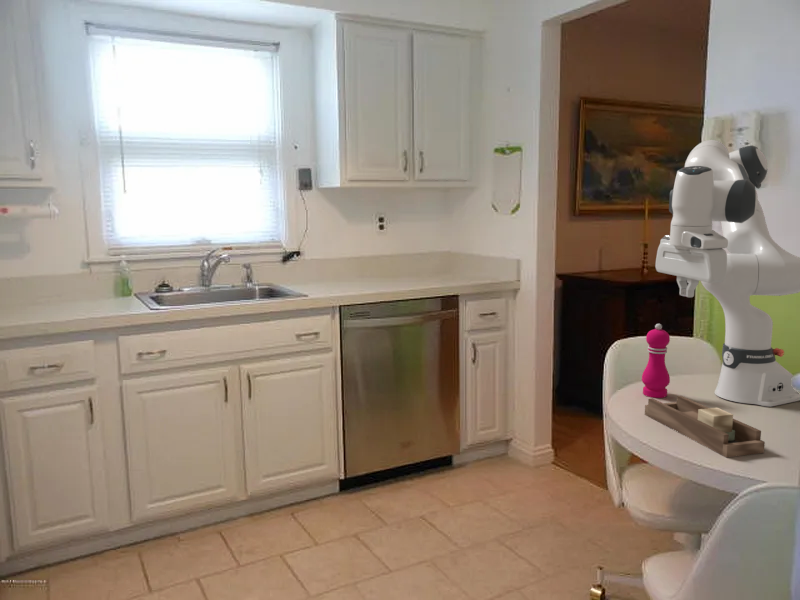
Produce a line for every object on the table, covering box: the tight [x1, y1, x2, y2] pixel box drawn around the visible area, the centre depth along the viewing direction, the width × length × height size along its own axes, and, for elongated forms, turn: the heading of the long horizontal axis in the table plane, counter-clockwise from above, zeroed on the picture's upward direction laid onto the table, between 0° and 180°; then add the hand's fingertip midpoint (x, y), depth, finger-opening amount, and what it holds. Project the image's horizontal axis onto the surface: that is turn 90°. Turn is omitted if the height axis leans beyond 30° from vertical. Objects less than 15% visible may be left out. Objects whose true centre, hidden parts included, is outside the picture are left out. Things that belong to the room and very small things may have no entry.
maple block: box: [698, 407, 734, 433], centre depth 146 cm, size 5×5×4 cm
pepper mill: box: [641, 323, 671, 399], centre depth 179 cm, size 7×7×20 cm
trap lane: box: [644, 395, 766, 458], centre depth 151 cm, size 9×28×4 cm, turn 14°
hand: (686, 296), depth 154 cm, fingers closed
